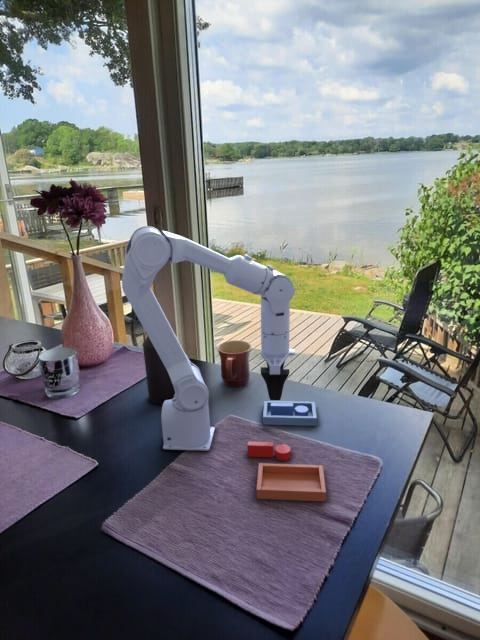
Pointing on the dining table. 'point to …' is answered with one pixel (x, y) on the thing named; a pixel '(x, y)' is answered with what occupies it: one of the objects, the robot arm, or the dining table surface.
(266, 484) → the terracotta tray
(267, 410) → the blue tray
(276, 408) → the blue spoon
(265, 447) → the red spoon
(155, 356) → the bottle
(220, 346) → the mug
